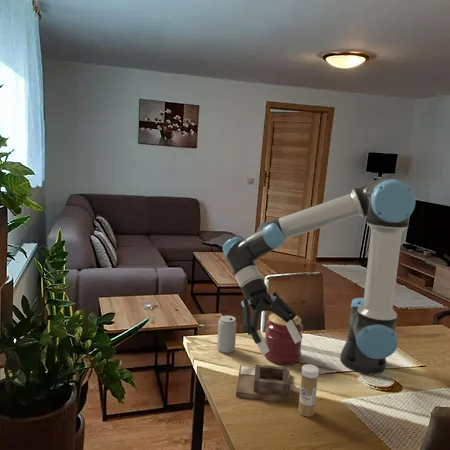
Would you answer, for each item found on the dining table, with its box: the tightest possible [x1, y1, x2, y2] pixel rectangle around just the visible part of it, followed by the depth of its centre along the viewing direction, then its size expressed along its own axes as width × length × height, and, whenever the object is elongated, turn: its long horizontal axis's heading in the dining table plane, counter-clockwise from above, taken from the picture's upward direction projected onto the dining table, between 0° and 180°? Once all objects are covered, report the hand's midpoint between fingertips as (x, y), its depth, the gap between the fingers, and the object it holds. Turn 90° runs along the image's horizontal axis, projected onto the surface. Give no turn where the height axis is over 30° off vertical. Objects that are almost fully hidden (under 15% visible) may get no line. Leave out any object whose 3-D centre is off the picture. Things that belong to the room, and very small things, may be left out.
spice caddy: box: [235, 363, 293, 403], centre depth 131 cm, size 16×16×5 cm
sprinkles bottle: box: [297, 363, 320, 418], centre depth 118 cm, size 5×5×13 cm
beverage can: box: [216, 315, 237, 354], centre depth 153 cm, size 6×6×12 cm
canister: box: [263, 312, 304, 366], centre depth 149 cm, size 13×13×18 cm
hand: (283, 347), depth 124 cm, fingers open, 13 cm apart
